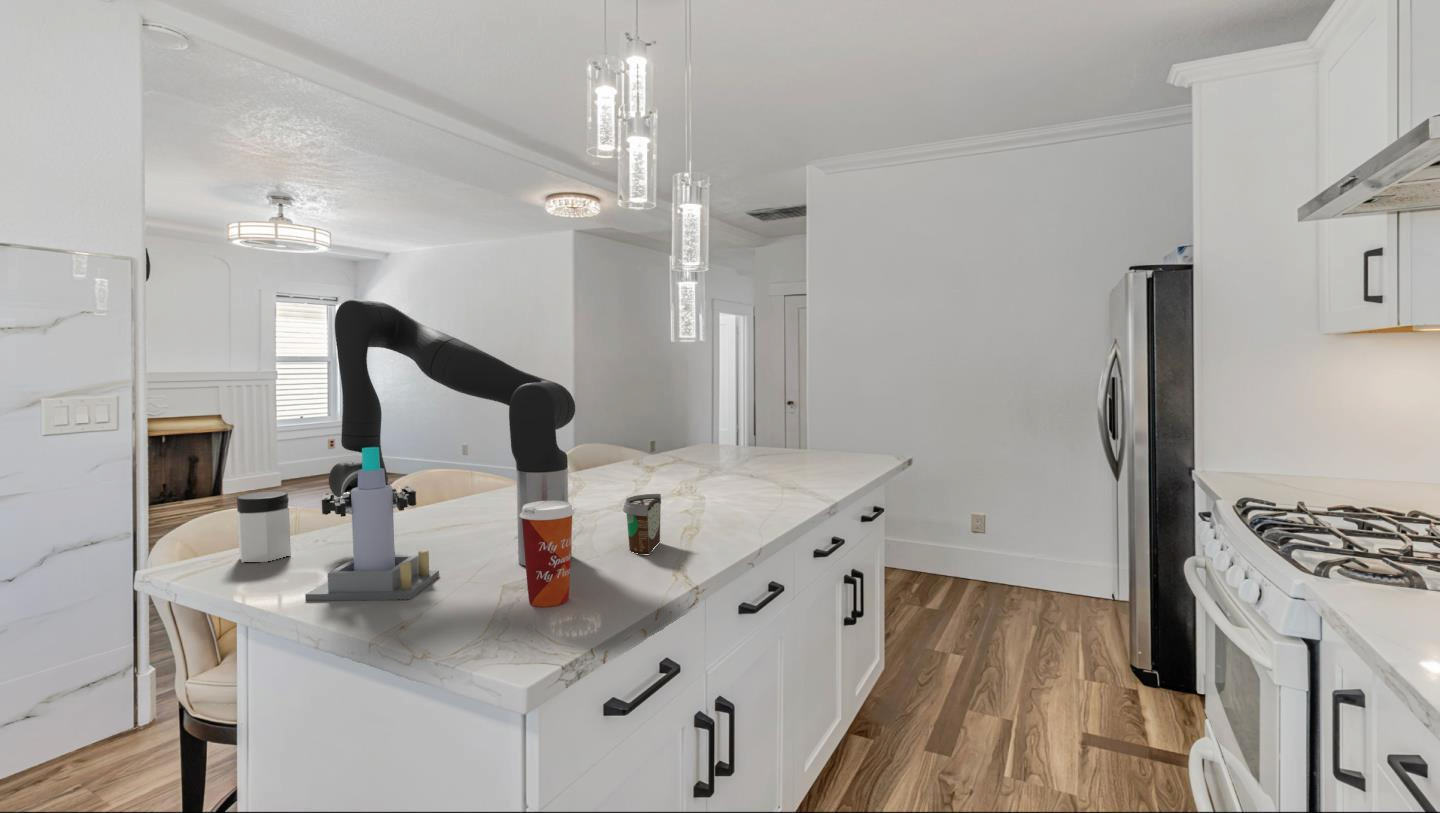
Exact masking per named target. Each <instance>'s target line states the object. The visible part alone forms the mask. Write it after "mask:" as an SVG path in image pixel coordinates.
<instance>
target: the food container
mask: <svg viewBox="0 0 1440 813" xmlns="http://www.w3.org/2000/svg"><path fill="white" fill-rule="evenodd" d="M661 504H662V494H661V493H648V494H647V493H646V494H639V495H638V494H637V495H633V496H628V497H627V498H626V499H625V502H624V504H623V508H622V509H623V510H622V512H623V513H625V514H626V522H627V523H626V525H627V534H628V535H627V536H628V548H629V552H630V551H631V552H630V553H632V552H634V553H638V554H650V553H651V551H652V550H653V548H654V547H655V546H656V545H657V544H658V543H659V542H660V543H661ZM634 553H633V554H634ZM638 554H637V555H638ZM651 554H652V553H651ZM651 554H650V555H651Z"/></svg>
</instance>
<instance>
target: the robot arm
mask: <svg viewBox="0 0 1440 813" xmlns="http://www.w3.org/2000/svg"><path fill="white" fill-rule="evenodd" d="M334 334H335V335H334V336H335V343H336V352H337V360H338V368H339V375H340V382H341V383H340V384H341V391H342V393H341V394H342V417H341V418H342V419H341V438H340V440H341V446H342V447H343V449H345V450H346V451H347V450H348V451H351V452H355V453H360V454H362V448H368V447H379V459H380V468H383V469H384V472H385V483H386V485H389V477H388V472H387V468H386V465H385V461H384V457H383V453H382V446H381V432H382V405H381V402H380V399H379V396H378V393H377V392H376V389H375V388H374V384H373V382H372V380H371V378H370V377H371V376H370V374H369V369H368V360H367V358H368V351H369V350H368V349H369V348H381V349H386V350H390V351H394V352H396V353H398V354H401V355H403V356H406V357H407V358H410V359H411V360H412V361H413V362H414V363H415V364H416V365H417V367H418V368H419V369H420V371H421V372H422V373H423V374H424V375H425V376H426V377H427V378H429V379H430V380H432V381H434V382H437V383H438V384H440V385H442V386H445V387H446V388H449V389H450V390H453V391H456V392H459V393H460V394H464V395H468V396H473V397H475V398H479V399H484V400H488V401H493V402H497V403H501V404H502V405H503V404H504V405H506V406H508V422H509V435H510V436H509V437H510V448H511V453H512V457H513V458H514V461H515V465H516V466H515V468H516V474H515V475H516V505H517V506H516V508H517V509H516V510H517V511H516V513H517V514H516V515H517V516H516V517H517V518H516V519H517V555H518V564H520V565H521V566H525V567H526V564H525V551H524V539H523V526H522V518H521V517H520V516H519V515H520V513H521V512H522V507H523V506H524V505H525V504H528V503H532V502H538V501H565V502H569V480H568V479H569V476H568V475H569V474H568V471H569V469H568V467H569V465H568V464H569V463H568V462H569V460H568V454H567V452H565V451H564V450H562V449H561V448H559V445H558V442H557V431H556V430H559V429H561V428H563V427H565V426H567V425H568V424H570V423H571V421H572V420H573V419H574V416H575V414H576V402H575V399H574V398H573V396H572V394H571V392H570V391H569V390H568V389H567V388H566V387H565V386H563V385H561V384H560V383H557V382H555V381H553V380H552V381H551V380H549V379H546V378H543V377H539V376H536V375H534V374H531V373H529V372H528V373H527V372H525V371H523V370H520V369H519V368H518V369H517V368H515V367H514V366H512V365H510V364H508V363H507V362H504V361H503V360H501V359H499V358H498V357H495V356H494V355H491V354H489V353H487V352H485V351H483V350H481V349H480V348H477V347H476V346H473V345H471V344H469V343H467V342H465V341H462V340H461V339H458V338H456V337H454V336H451V335H448V334H447V333H444V332H442V331H439V330H438V329H434V328H431V327H428V326H426V325H423V324H422V323H420V322H418V321H417V320H415V319H414V318H412V317H410V316H408V315H407V314H405V313H404V312H402V310H399V309H397V308H396V307H394V306H392V305H390V304H388V303H385V302H381V301H374V300H366V299H357V298H355V299H347V300H346V301H344V302H342V303H341V304H340V306H339V307H338V308H337V310H336V312H335V317H334ZM361 469H362V461H341V462H338V463H336V464H334V466H333V467H332V468H331V469H330V472H329V476H328V485H329V488H330V491H331V492H332V493H329V492H325V493H323V494H322V497H321V515H324V516H326V515H327V516H328V515H329V514H331V512H334V514H335V515H340V518H341V517H347V516H346V515H347V514H352V504H351V490H352V489H353V488H356V487H358V470H361ZM392 491H393V509H396V508H397V509H398V511H405V508H408V507H409V506H410V507H415V506H417V490H415V489H414V488H413V487H411V486H408V485H406V486H404V487H402V488H401V491H397V488H393V487H392ZM572 542H573V540H572V537H571V557H572V555H573V553H572V552H573V547H572V545H573V544H572Z"/></svg>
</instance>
